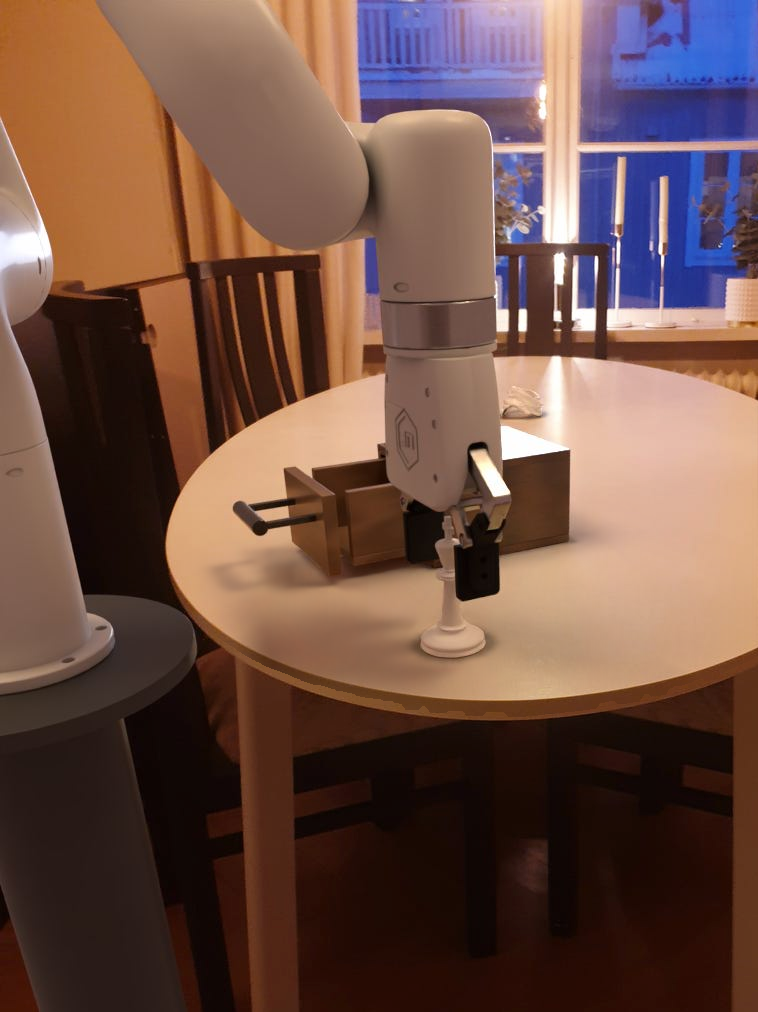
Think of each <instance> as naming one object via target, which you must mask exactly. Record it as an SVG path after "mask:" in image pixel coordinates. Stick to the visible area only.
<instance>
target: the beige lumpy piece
mask: <svg viewBox="0 0 758 1012" xmlns="http://www.w3.org/2000/svg"><path fill="white" fill-rule="evenodd" d="M507 395H508V397H507V399H504V400H503V404H502V410H500V417H504V416H507V415H508V414H509V412H510V411H511V410H512V409H513V408H515V409H516V410H519V411H520V412H521V413H523V414H525V415H526V416H530V415H534V416H536V417H540V416H542V415H543V409H542V407H543V405H544V403H543V401H542V400H540V399H541V396H540V395H539V394H538V393H537V392H536V391H534V390H530V389H527V388H524V387H522V386H511V388H510V389H509V391H508V392H507Z"/></svg>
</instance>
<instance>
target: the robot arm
mask: <svg viewBox="0 0 758 1012" xmlns="http://www.w3.org/2000/svg"><path fill="white" fill-rule="evenodd" d="M94 2H95V3H96V5H97V7H98V9H99V11H100V13H101V15H102V16H103V18H104V19H105V20H106V22H107V23H108V24H109V26H110V27H111V28H112V30H113V31H114V32H115V34H116V35H117V36H118V38H119V39H120V41H121V42H122V44H123V45H124V47H125V48H126V50H127V51H128V53H129V55H130V57H131V58H132V60H133V61H134V63H135V65H136V67H138V69H139V71H140V72H141V74H142V75H143V77H144V79H145V80H146V82H147V83H148V84H149V86H150V89H151V90H152V91H153V93H154V94H155V96H156V98H157V99H158V100H159V102H160V103H161V105H162V106H163V108H164V109H165V111H166V112H167V114H168V115H169V116H170V118H171V119H172V121H173V122H174V124H175V125H176V126H177V129H179V131H180V132H181V134H182V135H183V137H184V138H185V140H186V141H187V142H188V144H189V145H190V146H191V148H192V149H193V151H194V152H195V153H196V155H197V157H198V158H199V159H200V160H201V162H202V164H203V165H204V167H205V168H206V169H207V171H208V172H209V173H210V176H212V178H213V180H215V182H216V183H217V185H218V187H219V188H220V189H221V190H222V192H223V193H224V194H225V197H226V198H227V199H228V200H229V201H230V203H231V204H232V205H233V207H234V209H236V210H237V212H238V213H239V215H240V216H241V217H242V218H243V220H244V221H245V222H246V223H247V224H248V225H249V226H250V227H251V228H252V229H253V230H254V231H255V232H257V233H258V234H259V235H260V236H261V237H262V238H264V239H265V240H267V241H268V242H270V243H272V244H274V245H275V246H278V247H281V248H284V249H286V250H287V249H288V250H291V251H298V252H299V251H301V252H308V251H317V250H320V249H321V250H322V249H324V248H327V247H331V246H334V245H339V244H342V243H347V242H348V243H349V242H351V241H352V242H353V241H358V240H364V239H372V238H374V240H375V251H376V264H377V278H378V279H377V280H378V293H379V306H380V321H381V323H380V324H381V337H382V348H383V354H384V355H386V358H385V371H384V395H383V397H384V399H383V400H384V436H385V437H384V440H385V441H384V443H385V445H386V468H387V476H388V479H389V481H390V482H391V483H392V485H394V486H395V487H396V488H398V489H399V490H401V491H402V492H401V496H400V505H401V508H402V510H403V511H408V510H409V512H404V513H403V526H404V541H405V556H404V557H405V560H406V562H408V563H409V564H410V565H416V564H421V563H427V562H426V561H431V560H436V559H440V557H439V555H438V553H437V550H436V547H435V544H436V542H437V541H439V540H441V539H444V538H445V531H444V529H443V528H442V522H444V511H446V510H447V509H448V507H449V509H450V512H451V516H452V519H453V523H454V526H455V529H456V533H457V536H458V540H459V543H460V544H458V545H454V568H455V590H456V597H457V598H458V599H459V600H460V602H463V603H464V602H469V601H474V600H478V599H482V598H486V597H487V598H488V597H491V596H495V595H497V594H499V593H500V591H501V575H500V573H501V571H500V570H501V569H500V555H499V542H500V541H501V540H502V530H503V528H504V526H505V523H506V519H505V517H506V515H507V512H508V510H509V507H510V504H511V494H510V492H509V490H508V488H507V486H506V485H505V483H504V481H503V479H502V476H503V458H502V435H501V427H502V423H501V410H500V400H499V399H500V398H499V390H498V382H497V375H496V368H495V362H494V360H495V359H494V354H493V352H495V351H497V349H498V332H497V331H498V327H497V326H498V325H497V322H498V321H497V296H496V295H497V290H496V289H497V286H496V284H497V283H496V239H495V238H496V237H495V236H496V234H495V191H494V190H495V185H494V184H495V183H494V150H493V149H494V148H493V137H492V133H491V130H490V127H489V125H488V123H487V122H486V121H485V119H483V118H482V117H481V116H480V115H479V114H476V113H473V112H471V111H464V110H457V109H420V110H417V109H416V110H408V111H400V112H394V113H389V114H387V115H385V116H383V117H381V118H379V119H378V120H377V121H376V122H361V121H360V122H359V121H347V120H344V119H343V118H342V116H341V115H340V113H339V111H338V110H337V109H336V107H335V105H334V104H333V102H332V101H331V100H330V98H329V95H327V92H325V90H324V88H323V87H322V85H321V84H320V82H319V81H318V79H317V78H316V76H315V74H314V72H313V70H311V68H310V66H309V65H308V63H307V61H306V59H304V57H303V55H302V54H301V52H300V51H299V49H298V47H297V46H296V44H295V43H294V41H293V40H292V38H291V36H290V35H289V33H288V32H287V30H286V28H285V26H284V25H283V23H282V22H281V20H280V19H279V17H278V15H277V14H276V12H275V10H274V9H273V8H272V6H271V4H270V2H269V1H268V0H94ZM31 191H32V190H31V189H30V186H29V183H28V181H27V179H26V176H25V174H24V172H23V169H22V167H21V164H20V162H19V160H18V157H17V155H16V152H15V149H14V147H13V145H12V142H11V139H10V137H9V135H8V132H7V130H6V127H5V125H4V122H3V119H2V117H1V116H0V695H7V694H14V693H21V692H26V691H30V690H35V689H39V688H43V687H46V686H50V685H53V684H56V683H59V682H62V681H64V680H67V679H70V678H72V677H75V676H77V675H79V674H81V673H83V672H85V671H87V670H89V669H90V668H92V667H94V666H95V665H97V664H98V663H100V662H101V661H102V660H103V659H104V658H105V657H107V656H108V655H109V653H110V652H111V650H112V649H113V648H114V644H115V637H114V632H113V628H112V626H111V624H110V623H109V622H108V621H107V620H105V619H104V618H102V617H99V616H97V615H94V614H90V613H87V612H86V608H85V603H84V599H83V595H84V594H83V590H82V586H81V581H80V577H79V572H78V568H77V563H76V559H75V555H74V550H73V546H72V541H71V537H70V533H69V532H70V531H69V527H68V523H67V519H66V518H67V517H66V514H65V509H64V505H63V501H62V496H61V491H60V487H59V482H58V478H57V474H56V470H55V464H54V460H53V456H52V455H53V454H52V451H51V447H50V441H49V438H48V435H47V431H46V426H45V422H44V417H43V414H42V409H41V405H40V401H39V399H38V395H37V390H36V388H35V385H34V382H33V379H32V377H31V374H30V370H29V368H28V366H27V364H26V361H25V359H24V357H23V354H22V352H21V350H20V347H19V345H18V342H17V340H16V337H15V335H14V332H13V330H12V326H16V325H17V324H20V323H22V322H24V321H25V320H27V319H29V318H30V317H32V316H33V315H34V314H35V313H36V312H37V311H38V310H39V309H41V307H42V306H43V304H44V303H45V301H46V299H47V297H48V296H49V293H50V291H51V287H52V285H53V279H54V257H53V251H52V247H51V243H50V239H49V235H48V233H47V230H46V226H45V224H44V221H43V218H42V216H41V213H40V211H39V208H38V206H37V204H36V201H35V198H34V196H33V194H32V192H31ZM466 493H470V494H471V495H473V496H475V497H471V498H466V499H460V497H461V495H462V494H466ZM477 509H480V510H481V513H478V514H476V516H475V518H474V519H473V521H472V523H471V524H470V526H469V523H468V519H467V516H466V511H471V510H477Z"/></svg>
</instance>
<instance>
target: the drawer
mask: <svg viewBox="0 0 758 1012" xmlns="http://www.w3.org/2000/svg"><path fill="white" fill-rule="evenodd" d="M311 476H312V477H311ZM311 476H310V475H308V474H307V473H305V472H304V471H303V470H301V469H299V468H298V467H297V466H289V467H288V466H287V467H284V468H283V477H284V483H285V484H284V485H285V494H286V498H280V499H279V498H278V499H274V500H267V501H261V502H254V503H247V502H246V501H243V500H238V501H237V500H236V502H234V503H233V505H232V512H233V514H235V516H236V517H238V519H239V520H240V521H241V522H242V523H243V524H244V525H245V527H248V529H249V530H250V531H251V532H252V533H253V534H254V535H255V536H257V537H263V536H265V535H266V534H267V533H268V531H269V530H273V529H280V528H284V527H289V528H290V536H291V542H292V543H293V544H294V545H295V546H296V547H297V548H299V549H300V550H301V551H302V552H303V553H304V554H305V555H306V556H307V557H308V558H309V559H311V561H313V562H314V563H315V564H316V565H317V566H318V568H319V569H321V570H322V571H323V572H324V573H325V574H326V575H328V577H329V578H332V577H336V576H341V575H344V573H343V564H342V563H343V562H342V558H344V560H346V561H347V562H348V563H350V564H351V565H352V566H353V567H357V566H361V565H362V566H363V565H368V564H373V563H378V562H381V561H386V560H387V561H388V560H393V559H398V558H403V557H406V556H405V541H404V526H403V513H404V512H409V510H408V511H403V510H402V508H401V505H400V496H401V492H402V491H401V490H399V489H398V488H396V487H395V486H394V485H392V483H391V482H390V481H389V479H388V476H387V468H386V457H384V458H378V457H377V458H371V459H365V460H358V461H350V462H344V463H343V462H342V463H337V464H330V465H323V466H316V467H312V468H311ZM284 507H287V509H288V510H287V511H288V517H285V518H277V519H272V520H266V521H265V519H264V518H262V517H261V516H260V515H259V514H258V513H257V512H259V511H265V510H272V509H278V508H284Z"/></svg>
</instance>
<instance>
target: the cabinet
mask: <svg viewBox="0 0 758 1012" xmlns="http://www.w3.org/2000/svg"><path fill="white" fill-rule="evenodd" d="M501 435H502V458H503V476H502V479H503V481H504V483H505V485H506V486H507V488H508V490H509V492H510V494H511V504H510V507H509V510H508V512H507V515H506V517H505V519H506V523H505V526H504V528H503V530H502V540H501V541H500V542H499V556H501V555H506V554H511V553H516V552H521V551H526V550H531V549H536V548H540V547H541V548H542V547H545V546H551V545H556V544H560V543H565V542H569V541H570V510H571V509H570V507H571V504H570V503H571V494H570V493H571V449H570V448H568V447H564V446H562V445H559V444H556V443H553V442H551V441H548V440H545V439H542V438H539V437H537V436H535V435H532V434H529V433H526V432H523V431H520V430H519V429H515V428H512V427H510V426H507V425H504V426H501ZM376 447H377V458H384V457H386V445H385V442H381V443H377V446H376ZM471 497H475V496H473V495H471V494H470V493H466V494H462V495H461V497H460V499H466V498H471ZM478 513H481V510H480V509H477V510H471V511H466V516H467V519H468V523H469V526H470V524H471V523H472V521H473V519H474V518H475V516H476V514H478ZM444 516H451V512H450V509H449V507H448V509H447V510H446V511H444ZM451 519H452V516H451ZM452 527H453V528H454V534H453V535H452V538H455V539H458V536H457V533H456V529H455V526H454V523H453V519H452ZM425 563H427V564H428V565H430V566H431V567H433V568H434V569H436V568H443V565H442V563H441V561H440V559H436V560H431V561H426V562H425Z"/></svg>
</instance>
